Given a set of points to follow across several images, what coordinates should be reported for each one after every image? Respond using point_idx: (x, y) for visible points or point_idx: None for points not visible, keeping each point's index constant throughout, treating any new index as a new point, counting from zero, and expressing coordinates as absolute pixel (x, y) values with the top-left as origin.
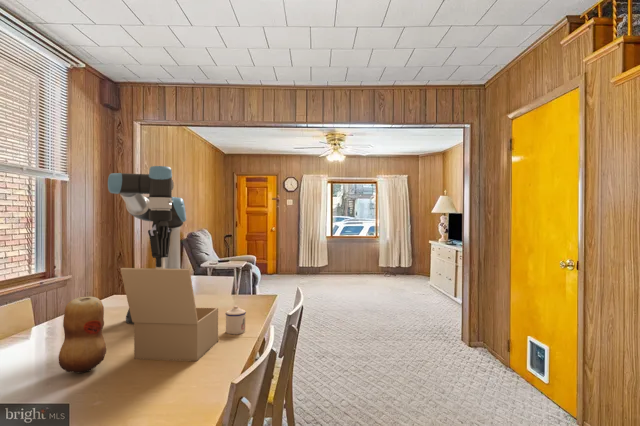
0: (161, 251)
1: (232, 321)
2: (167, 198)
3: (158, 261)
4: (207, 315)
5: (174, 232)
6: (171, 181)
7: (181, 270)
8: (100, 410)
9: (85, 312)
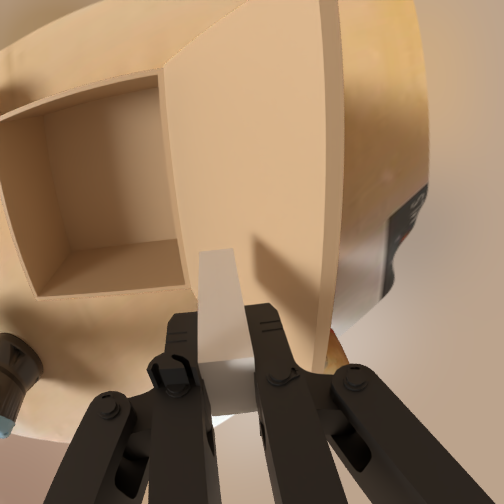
0: (311, 428)
1: None
2: None
3: (288, 348)
4: (69, 89)
5: None
6: None
7: (335, 36)
8: (407, 156)
9: (343, 355)
